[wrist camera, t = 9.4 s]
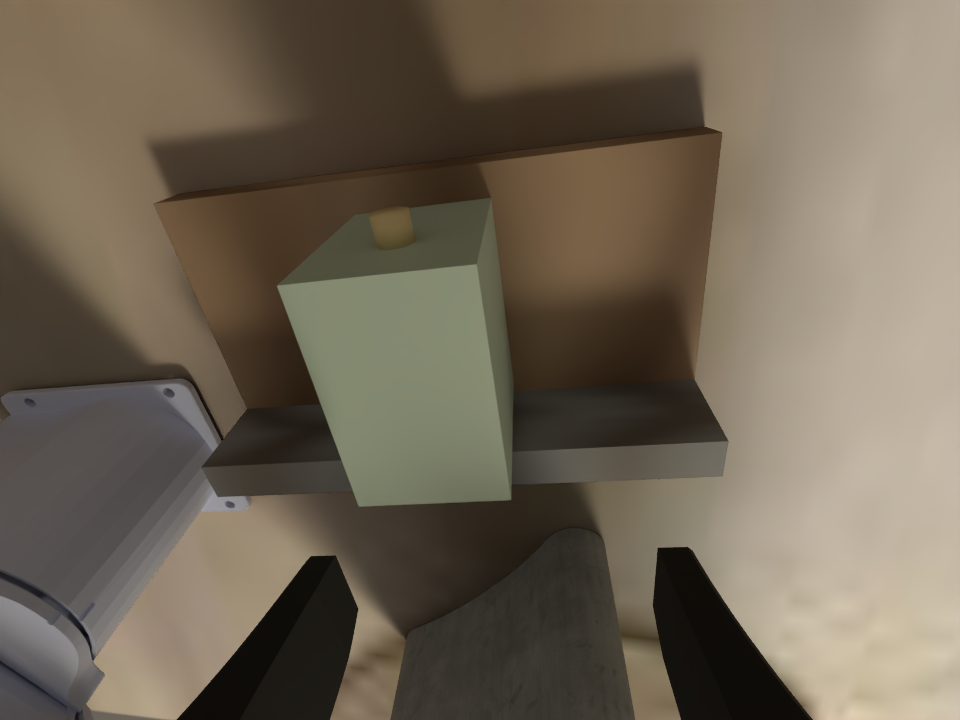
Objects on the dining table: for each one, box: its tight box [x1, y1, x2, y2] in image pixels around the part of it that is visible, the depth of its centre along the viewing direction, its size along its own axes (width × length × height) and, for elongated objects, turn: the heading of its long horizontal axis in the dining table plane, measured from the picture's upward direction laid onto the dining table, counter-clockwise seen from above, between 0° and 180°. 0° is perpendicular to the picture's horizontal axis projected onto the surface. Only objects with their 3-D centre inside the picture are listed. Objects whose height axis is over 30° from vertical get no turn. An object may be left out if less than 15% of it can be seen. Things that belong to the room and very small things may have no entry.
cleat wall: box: [154, 127, 728, 497], centre depth 17 cm, size 18×10×5 cm, turn 98°
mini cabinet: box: [277, 198, 514, 507], centre depth 15 cm, size 4×8×6 cm, turn 8°
